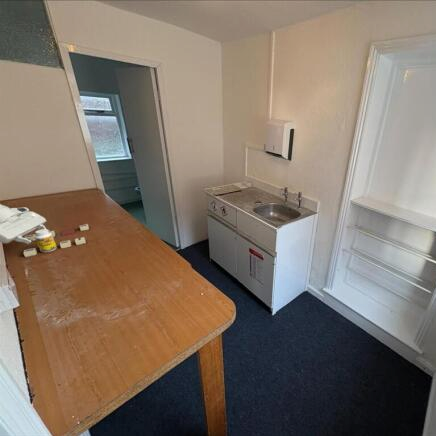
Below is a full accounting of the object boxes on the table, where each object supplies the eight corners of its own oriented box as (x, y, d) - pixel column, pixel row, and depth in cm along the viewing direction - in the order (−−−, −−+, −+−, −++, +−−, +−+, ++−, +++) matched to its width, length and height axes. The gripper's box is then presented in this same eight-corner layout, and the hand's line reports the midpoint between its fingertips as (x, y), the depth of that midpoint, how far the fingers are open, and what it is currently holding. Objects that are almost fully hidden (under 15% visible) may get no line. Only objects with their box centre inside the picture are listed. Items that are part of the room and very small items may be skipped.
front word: (25, 257, 104) (23, 252, 104) (26, 253, 107) (24, 249, 106) (85, 242, 118) (84, 239, 117) (85, 240, 120) (84, 236, 119)
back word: (25, 242, 115) (24, 239, 114) (26, 239, 119) (25, 235, 118) (89, 229, 131) (88, 226, 130) (88, 226, 134) (87, 223, 133)
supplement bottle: (39, 254, 107) (31, 234, 103) (42, 248, 111) (34, 229, 107) (56, 251, 110) (48, 231, 106) (58, 245, 114) (50, 227, 110)
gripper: (-16, 223, 92) (23, 244, 97) (29, 206, 110) (59, 224, 116) (-24, 234, 93) (15, 253, 98) (21, 214, 111) (52, 232, 117)
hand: (39, 237), depth 107 cm, fingers open, 8 cm apart
